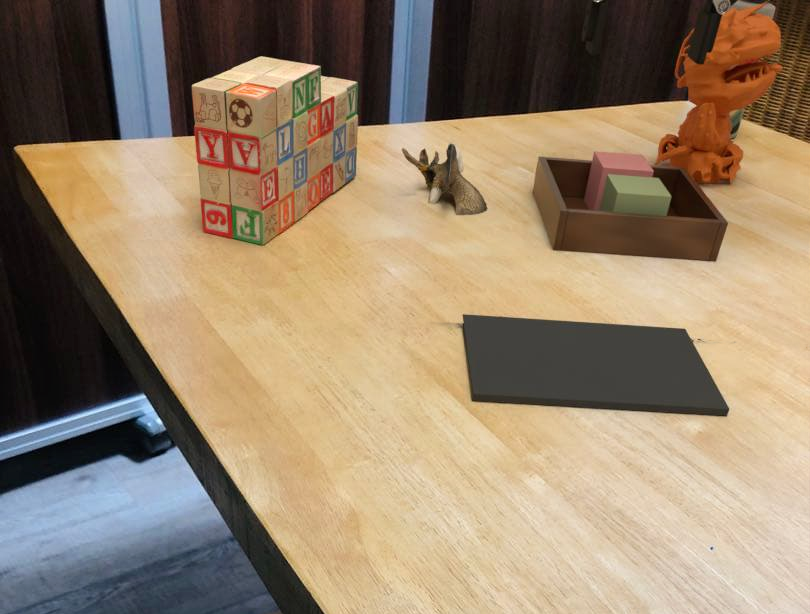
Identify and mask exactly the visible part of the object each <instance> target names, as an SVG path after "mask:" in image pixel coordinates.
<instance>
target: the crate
mask: <svg viewBox="0 0 810 614" xmlns="http://www.w3.org/2000/svg"><path fill="white" fill-rule="evenodd" d="M591 164H592V159H591V160H590V159H576V158H566V157H563V158H562V157H553V156H552V157H550V156H540V155H539V156H538V157H537V162H536V170H535V174H534V181H533V187H532V196H533V198H534V201H535V204H536V207H537V209H538V213H539V215H540V218H541V220H542V223H543V227H544V229H545V232H546V235H547V237H548V240H549V243H550V247H551V249H552V251H557V252H569V253H584V254H598V255H599V254H601V255H613V256H625V257H626V256H629V257H641V258H642V257H645V258H654V259H655V258H656V259H670V260H683V261H684V260H686V261H700V262H713V263H716V262H717V260H718V256H719V253H720V250H721V247H722V244H723V241H724V238H725V235H726V231H727V228H728V225H729V222H728V221H727V219H726V217H724V215H723V214H722V213H721V212H720V210H719V209H718V208H717V206H716V205H715V204H714V203H713V201H712V200H711V199H710V198H709V197H708V195H707V194H706V193H705V191H704V190H703V189H702V187H700V185H699V184H698V182H696V181H695V180H694V179H693V178H692V176H691V175H690V174H689V173H688V171H687V170H686V169H685V168H684V167H670V166H669V165H658V164H657V165H654V164H649V165H650V166H651V168H652V169H653V171H654V172H653V176H652V178H659V179H660V180H661V182H662V183H663V185H664V186H665V188H666V189H667V190H668V192H669V193H670V195H671V196H672V197H671V201H670V204H669V208H668V212H667V215H666V216H661V215H648V214H634V213H620V212H606V211H593V210H588V209H587V206H586V204H585V202H584V198H585V193H586V188H587V183H588V178H589V174H590V169H591Z"/></svg>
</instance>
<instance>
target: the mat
mask: <svg viewBox="0 0 810 614" xmlns="http://www.w3.org/2000/svg"><path fill="white" fill-rule="evenodd" d="M461 326H462V327H461V328H462V334H463V341H464V349H465V356H466V365H467V371H468V378H469V379H468V380H469V386H470V393H471V401H474V402H488V403H491V402H492V403H506V404H521V405H523V404H524V405H541V406H556V407H557V406H558V407H573V408H589V409H605V410H621V411H623V410H625V411H639V412H640V411H641V412H656V413H671V414H672V413H675V414H691V415H706V416H708V415H709V416H725V417H727V416H728V415H729V411H730V407H729V405H728V404H727V402H726V400H725V398H724V396H723V394H722V393H721V391H720V388H719V387H718V385H717V383H716V382H715V380H714V378H713V376H712V374H711V373H710V371H709V369H708V367H707V366H706V363H705V362H704V360H703V358H702V356H701V355H700V353H699V350H697V348H696V346H695V344H694V341H693V340H692V338H691V337H690V334H689V333H688V331H687V329H686V328H679V327H665V326H651V325H636V324H635V325H633V324H621V323H620V324H617V323H605V322H604V323H603V322H589V321H575V320H574V321H573V320H559V319H558V320H557V319H543V318H542V319H541V318H526V317H514V316H513V317H512V316H511V317H510V316H497V315H495V316H494V315H483V314H482V315H481V314H467V313H463V314H462V322H461Z"/></svg>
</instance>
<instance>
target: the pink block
mask: <svg viewBox="0 0 810 614" xmlns="http://www.w3.org/2000/svg"><path fill="white" fill-rule="evenodd" d="M591 160H592V164H591V169H590V174H589V178H588V183H587V188H586V193H585V198H584V202H585V204H586V206H587V209H588V210H593V211H599V210H600V205H601V200H602V196H603V191H604V187H605V182H606V178H607V174H612V175H626V176H639V177H652V176H653V172H654V171H653V169H652V168H651V166H650V165H651V164H650V163H649V161H648V160H647V158H645V156H644V155H643V154H637V153H636V154H635V153H625V152H624V153H623V152H612V151H611V152H610V151H600V150H599V151H598V150H597V151H596V150H594V151H593V156H592V158H591Z"/></svg>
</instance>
